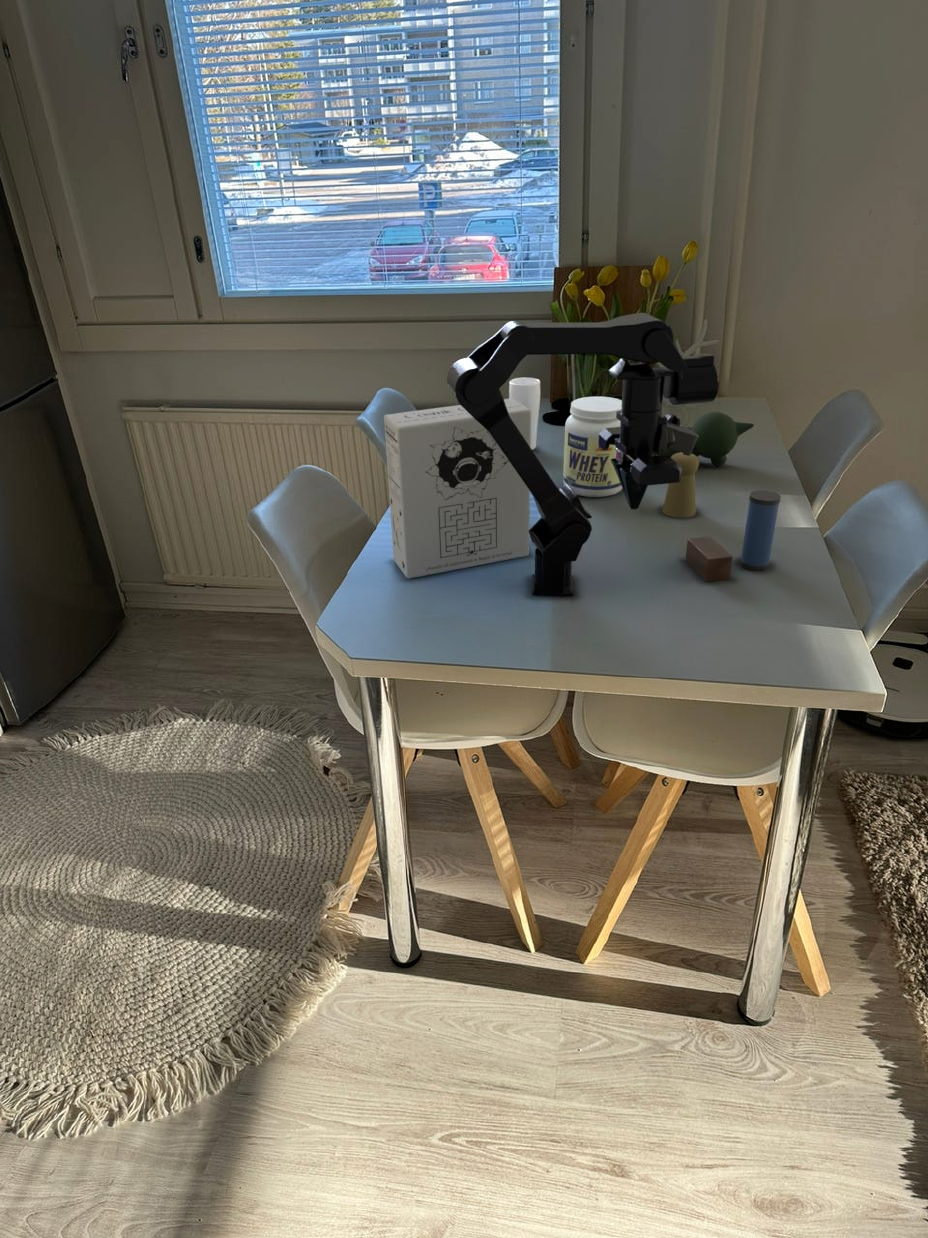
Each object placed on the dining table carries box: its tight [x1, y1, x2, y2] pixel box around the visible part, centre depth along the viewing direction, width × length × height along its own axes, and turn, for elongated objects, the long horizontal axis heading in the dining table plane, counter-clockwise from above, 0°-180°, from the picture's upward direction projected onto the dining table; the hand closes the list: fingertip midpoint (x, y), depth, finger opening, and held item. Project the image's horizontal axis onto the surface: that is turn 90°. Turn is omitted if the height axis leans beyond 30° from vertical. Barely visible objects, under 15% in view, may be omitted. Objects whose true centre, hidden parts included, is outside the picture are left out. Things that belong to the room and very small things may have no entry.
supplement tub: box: [562, 396, 623, 498], centre depth 170 cm, size 12×12×17 cm
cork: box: [662, 453, 700, 519], centre depth 160 cm, size 6×6×11 cm
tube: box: [739, 489, 782, 572], centre depth 140 cm, size 12×5×12 cm
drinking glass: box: [508, 377, 541, 451], centre depth 192 cm, size 7×7×15 cm
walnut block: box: [684, 535, 733, 583], centre depth 140 cm, size 4×8×4 cm, turn 11°
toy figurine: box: [654, 411, 755, 467], centre depth 180 cm, size 9×19×25 cm
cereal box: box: [383, 397, 531, 579], centre depth 141 cm, size 22×8×25 cm, turn 111°
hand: (633, 508), depth 133 cm, fingers closed
